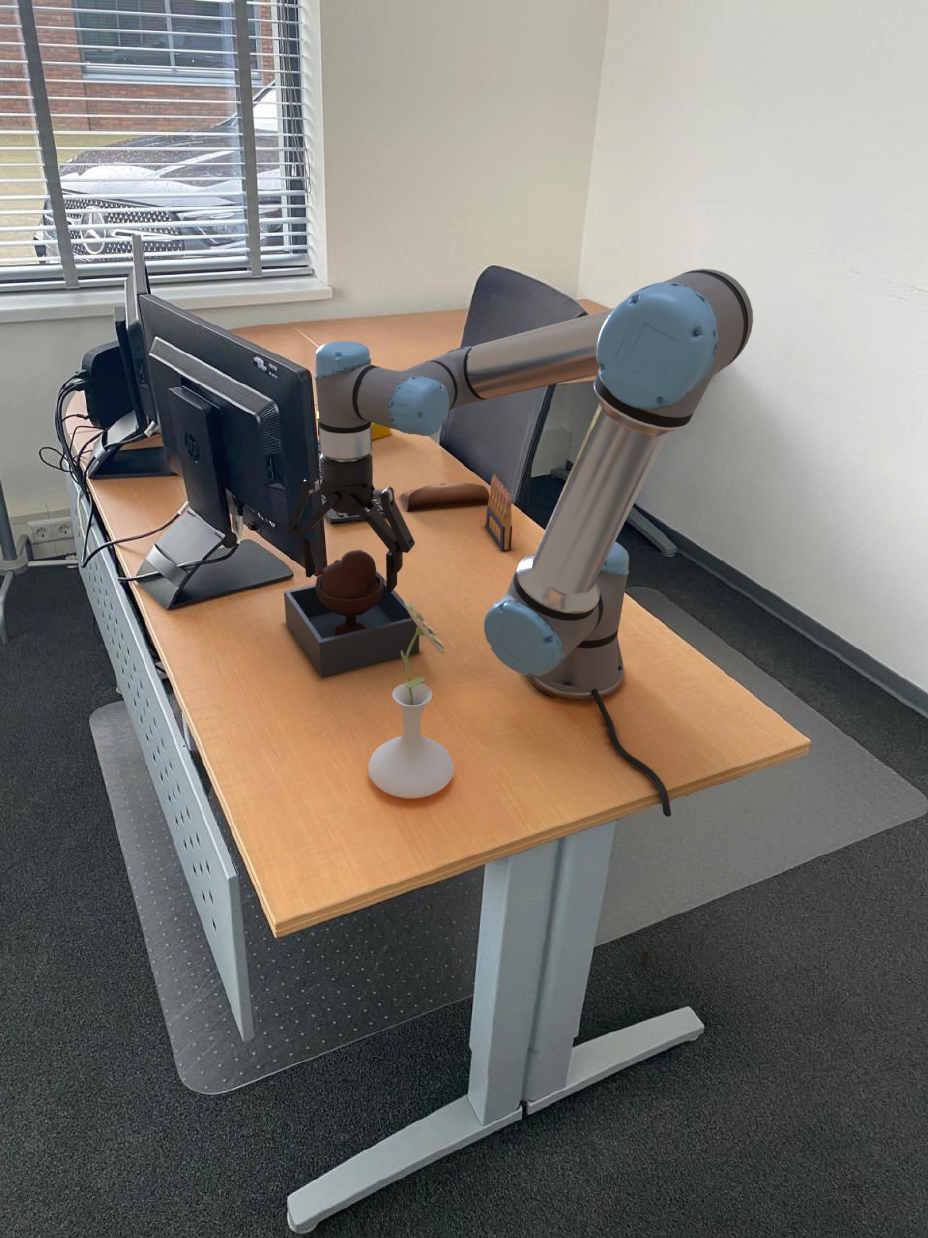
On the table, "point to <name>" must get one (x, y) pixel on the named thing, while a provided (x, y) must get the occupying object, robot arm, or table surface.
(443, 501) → the sunglasses case
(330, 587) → the ice cream bowl
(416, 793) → the flower in vase
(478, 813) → the table surface
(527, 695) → the table surface
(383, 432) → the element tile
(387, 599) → the open square box
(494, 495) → the ammunition clip
